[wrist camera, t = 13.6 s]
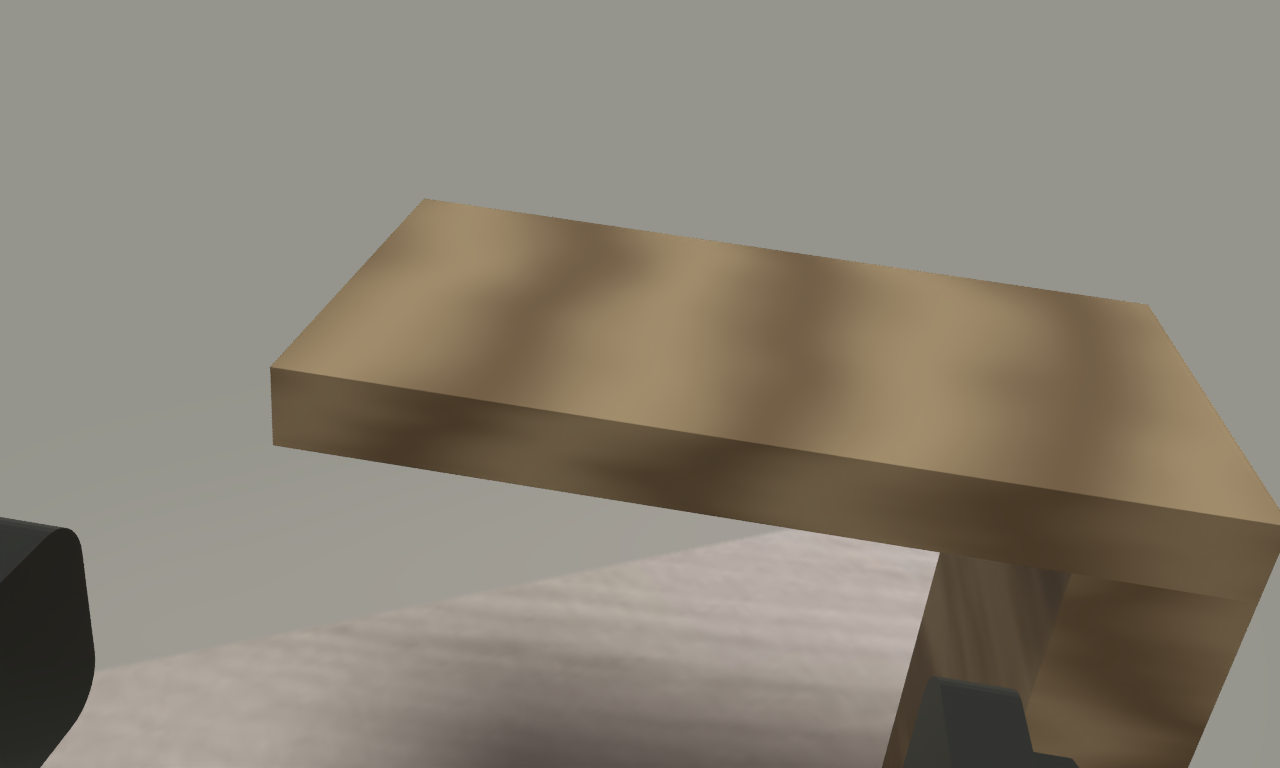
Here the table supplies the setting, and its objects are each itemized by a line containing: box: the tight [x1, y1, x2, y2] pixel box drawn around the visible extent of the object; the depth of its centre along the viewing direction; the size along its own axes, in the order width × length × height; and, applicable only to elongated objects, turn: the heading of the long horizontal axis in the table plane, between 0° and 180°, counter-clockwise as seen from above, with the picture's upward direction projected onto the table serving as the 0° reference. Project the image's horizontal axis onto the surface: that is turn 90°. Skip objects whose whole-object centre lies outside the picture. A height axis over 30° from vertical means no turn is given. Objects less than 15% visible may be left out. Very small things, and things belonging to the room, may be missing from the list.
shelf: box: [270, 199, 1280, 768], centre depth 36 cm, size 22×12×21 cm, turn 83°
